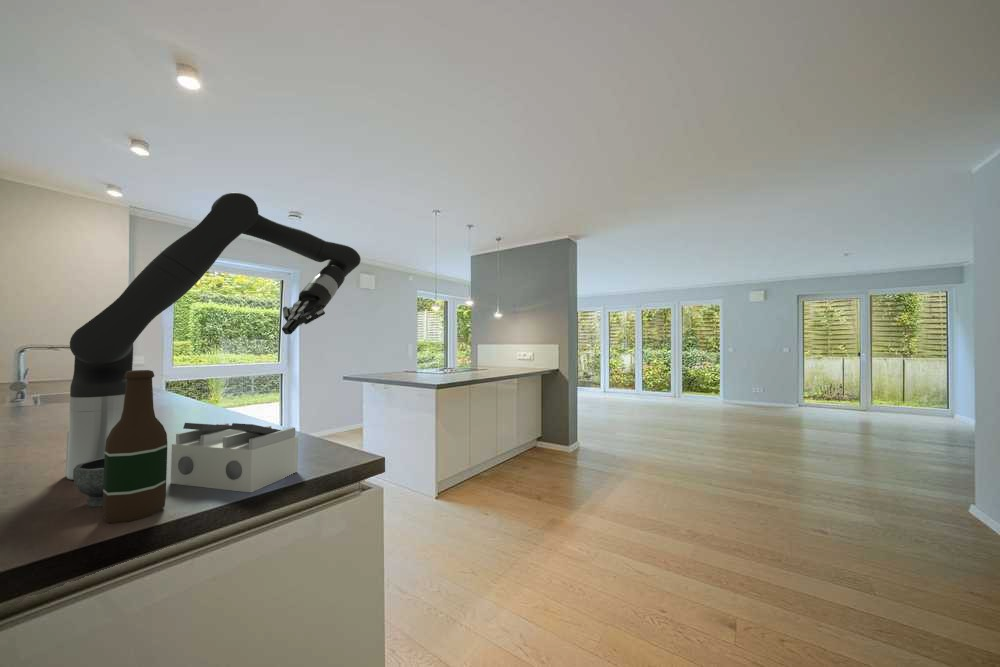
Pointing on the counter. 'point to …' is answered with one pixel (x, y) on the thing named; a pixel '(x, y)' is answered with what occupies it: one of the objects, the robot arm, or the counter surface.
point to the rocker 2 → (253, 429)
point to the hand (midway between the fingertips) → (286, 332)
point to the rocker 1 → (206, 426)
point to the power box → (233, 458)
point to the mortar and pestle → (90, 480)
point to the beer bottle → (135, 456)
